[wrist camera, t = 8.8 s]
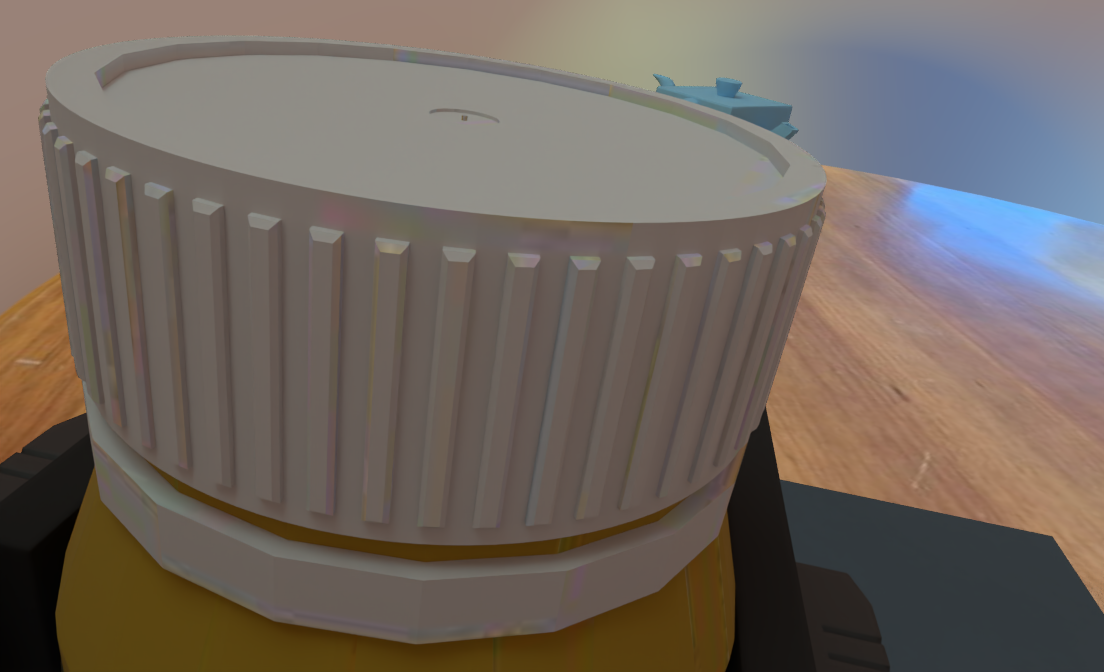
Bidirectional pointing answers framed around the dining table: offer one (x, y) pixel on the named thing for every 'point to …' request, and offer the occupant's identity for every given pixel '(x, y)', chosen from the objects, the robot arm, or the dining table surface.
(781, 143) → the bottle
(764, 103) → the teapot
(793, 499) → the mat
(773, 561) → the robot arm
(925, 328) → the dining table surface
